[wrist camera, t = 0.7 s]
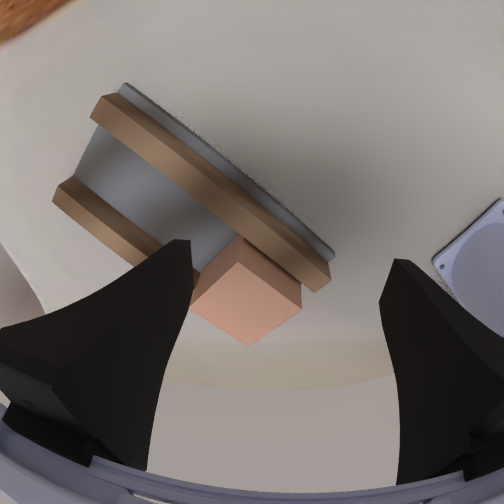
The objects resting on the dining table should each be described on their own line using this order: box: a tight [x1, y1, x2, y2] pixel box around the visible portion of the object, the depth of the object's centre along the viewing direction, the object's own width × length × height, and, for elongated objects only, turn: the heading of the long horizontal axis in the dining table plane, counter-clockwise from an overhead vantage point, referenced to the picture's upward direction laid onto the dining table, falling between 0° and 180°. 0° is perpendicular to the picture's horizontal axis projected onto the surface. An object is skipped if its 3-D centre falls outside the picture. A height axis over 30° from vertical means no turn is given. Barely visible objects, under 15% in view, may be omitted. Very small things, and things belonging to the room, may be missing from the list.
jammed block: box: [189, 234, 302, 346], centre depth 20 cm, size 5×5×4 cm
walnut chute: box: [52, 83, 335, 299], centre depth 20 cm, size 18×10×2 cm, turn 49°
